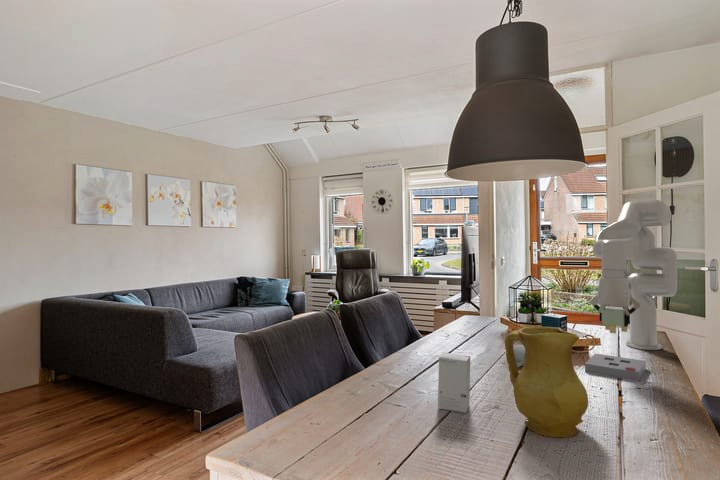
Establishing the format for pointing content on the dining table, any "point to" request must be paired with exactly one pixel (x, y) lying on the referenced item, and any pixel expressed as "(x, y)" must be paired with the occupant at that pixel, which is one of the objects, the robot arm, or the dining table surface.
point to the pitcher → (547, 381)
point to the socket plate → (616, 367)
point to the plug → (613, 319)
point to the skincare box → (454, 382)
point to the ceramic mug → (519, 354)
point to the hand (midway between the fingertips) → (614, 324)
